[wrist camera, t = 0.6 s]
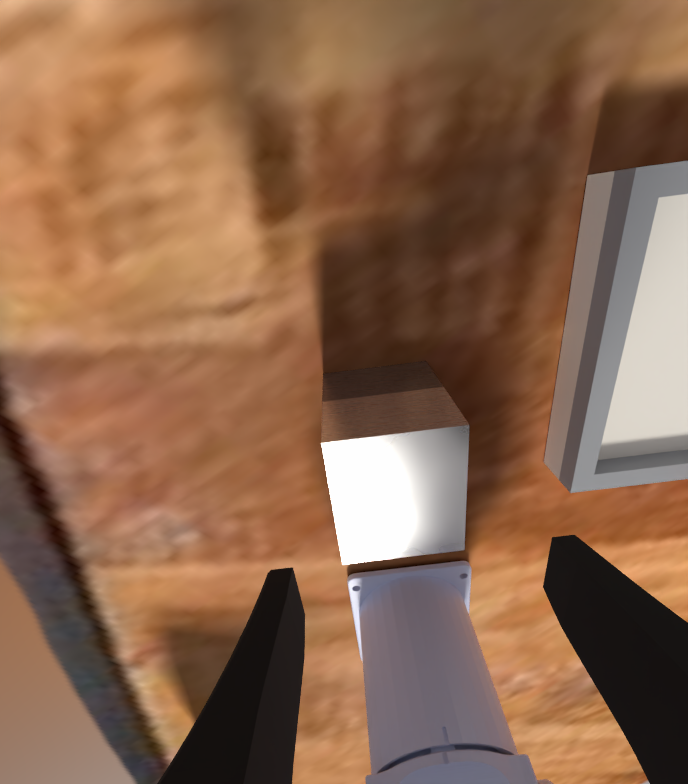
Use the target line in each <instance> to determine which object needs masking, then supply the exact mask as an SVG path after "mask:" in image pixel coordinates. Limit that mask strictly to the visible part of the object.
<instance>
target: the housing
mask: <svg viewBox="0 0 688 784" xmlns="http://www.w3.org/2000/svg"><path fill="white" fill-rule="evenodd" d="M321 444H322V450H323V456H324V461H325V467H326V473H327V478H328V484H329V490H330V495H331V501H332V507H333V512H334V518H335V524H336V530H337V535H338V541H339V547H340V552H341V558H342V564H343V565H344V564H352V563H361V562H369V561H377V560H386V559H394V558H403V557H411V556H420V555H428V554H437V553H445V552H454V551H462V550H465V524H466V499H467V474H468V449H469V423H468V422H467V420H466V419H465V418H464V416H463V415H462V413H461V412H460V410H459V409H458V407H457V406H456V404H455V403H454V401H453V400H452V398H451V397H450V395H449V394H448V393H447V391H446V390H445V388H444V387H443V385H442V384H441V382H440V381H439V379H438V378H437V376H436V375H435V373H434V372H433V370H432V369H431V368H430V366H429V365H428V363H427V362H426V361H421V362H413V363H405V364H397V365H390V366H382V367H374V368H366V369H358V370H350V371H342V372H334V373H326V374H323V398H322V436H321Z"/></svg>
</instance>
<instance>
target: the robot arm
mask: <svg viewBox="0 0 688 784" xmlns="http://www.w3.org/2000/svg"><path fill="white" fill-rule="evenodd" d="M347 581H348V589H349V594H350V600H351V606H352V612H353V617H354V623H355V629H356V635H357V641H358V646H359V652H360V658H361V660H362V661H363V672H364V684H365V697H366V710H367V723H368V736H369V748H370V761H371V774H372V775H367V776H366V784H553V783H552V782H551V781H549V780H547V779H543V780H537V779H536V776H535V773H534V770H533V768H532V765H531V762H530V760H529V757H528V755H526V754H521V755H518V752H517V749H516V746H515V744H514V741H513V738H512V735H511V732H510V729H509V727H508V724H507V721H506V718H505V715H504V712H503V710H502V707H501V704H500V701H499V698H498V696H497V693H496V690H495V687H494V684H493V681H492V679H491V676H490V673H489V670H488V667H487V664H486V662H485V659H484V656H483V653H482V650H481V647H480V645H479V642H478V639H477V636H476V633H475V630H474V628H473V625H472V622H471V619H470V616H469V606H470V587H471V566H470V564H469V563H468V562H467V561H456V562H447V563H439V564H430V565H421V566H413V567H404V568H396V569H387V570H379V571H370V572H361V573H354V574H351V575H349V576H348V579H347ZM543 588H544V590H545V592H546V595H547V597H548V599H549V601H550V603H551V606H552V608H553V610H554V612H555V614H556V616H557V619H558V621H559V623H560V625H561V627H562V629H563V631H564V632H565V634H566V636H567V638H568V639H569V641H570V643H571V644H572V646H573V648H574V650H575V651H576V653H577V655H578V656H579V658H580V660H581V662H582V663H583V665H584V667H585V668H586V670H587V672H588V673H589V675H590V677H591V678H592V680H593V682H594V684H595V685H596V687H597V689H598V690H599V692H600V694H601V695H602V697H603V699H604V700H605V702H606V704H607V705H608V707H609V709H610V711H611V712H612V714H613V716H614V717H615V719H616V721H617V722H618V724H619V726H620V727H621V729H622V731H623V733H624V735H625V736H626V738H627V740H628V742H629V744H630V745H631V747H632V749H633V751H634V753H635V755H636V757H637V759H638V761H639V763H640V765H641V767H642V769H643V771H644V773H645V775H646V777H647V779H648V781H649V783H650V784H688V623H687V622H686V621H685V620H683V619H682V618H680V617H679V616H678V615H676V614H675V613H674V612H672V611H671V610H670V609H668V608H667V607H666V606H665V605H663V604H662V603H661V602H659V601H658V600H657V599H655V598H654V597H653V596H651V595H650V594H649V593H647V592H646V591H645V590H644V589H642V588H641V587H640V586H638V585H637V584H636V583H635V582H633V581H632V580H631V579H629V578H628V577H627V576H626V575H624V574H623V573H622V572H621V571H619V570H618V569H617V568H616V567H614V566H613V565H612V564H611V563H609V562H608V561H607V560H605V559H604V558H603V557H602V556H600V555H599V554H598V553H597V552H595V551H594V550H593V549H592V548H590V547H589V546H588V545H587V544H585V543H584V542H583V541H582V540H580V539H579V538H578V537H577V536H575V535H569V536H560V537H552V541H551V546H550V552H549V557H548V563H547V568H546V574H545V579H544V585H543ZM304 648H305V613H304V609H303V605H302V601H301V597H300V593H299V590H298V586H297V582H296V578H295V574H294V570H293V568H284V569H275V570H271V571H270V572H269V573H268V575H267V577H266V580H265V582H264V585H263V587H262V590H261V592H260V595H259V597H258V600H257V602H256V604H255V607H254V609H253V611H252V613H251V616H250V618H249V620H248V622H247V624H246V627H245V629H244V631H243V633H242V635H241V637H240V639H239V641H238V643H237V645H236V647H235V649H234V651H233V654H232V656H231V658H230V660H229V662H228V664H227V665H226V667H225V669H224V671H223V673H222V675H221V677H220V679H219V680H218V682H217V684H216V686H215V688H214V690H213V692H212V694H211V695H210V697H209V699H208V701H207V703H206V705H205V706H204V708H203V710H202V712H201V713H200V715H199V717H198V719H197V720H196V722H195V724H194V726H193V727H192V729H191V731H190V732H189V734H188V736H187V737H186V739H185V741H184V742H183V744H182V746H181V747H180V749H179V750H178V752H177V754H176V755H175V757H174V759H173V760H172V762H171V763H170V765H169V767H168V768H167V770H166V771H165V773H164V774H163V776H162V777H161V779H160V780H159V782H158V784H292V774H293V762H294V752H295V743H296V733H297V723H298V714H299V704H300V695H301V685H302V675H303V665H304Z"/></svg>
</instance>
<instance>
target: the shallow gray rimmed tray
mask: <svg viewBox="0 0 688 784" xmlns="http://www.w3.org/2000/svg"><path fill="white" fill-rule="evenodd" d="M544 463H545V464H546V466H547V467H548V468H549V469H550V470H551V471H552V472H553V474H554V475H555V476H556V477H557V478H558V479H559V480H560V481H561V483H562V484H563V485H564V486H565V487H566V488H567V489H568V491H569V492H570V493H573V492H582V491H590V490H599V489H607V488H615V487H624V486H632V485H640V484H649V483H657V482H666V481H674V480H682V479H688V161H681V162H674V163H666V164H659V165H651V166H644V167H637V168H630V169H624V170H617V171H611V172H605V173H598V174H592V175H588V176H587V182H586V189H585V195H584V202H583V208H582V215H581V221H580V228H579V235H578V241H577V248H576V254H575V261H574V267H573V274H572V280H571V287H570V293H569V300H568V307H567V313H566V320H565V326H564V333H563V339H562V346H561V352H560V359H559V365H558V372H557V378H556V385H555V392H554V398H553V405H552V411H551V418H550V424H549V431H548V437H547V444H546V450H545V457H544Z"/></svg>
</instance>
